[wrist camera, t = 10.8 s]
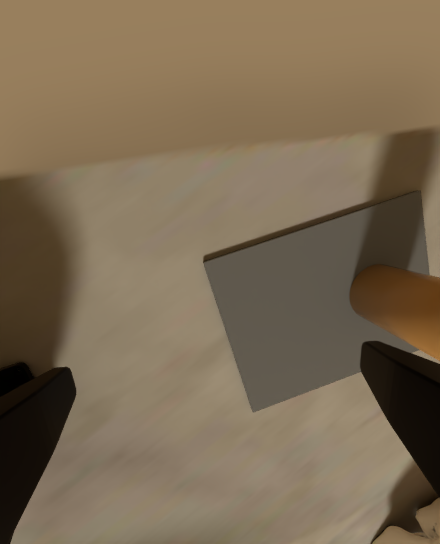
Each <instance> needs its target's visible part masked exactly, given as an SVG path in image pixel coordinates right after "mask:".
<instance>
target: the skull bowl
mask: <svg viewBox="0 0 440 544" xmlns="http://www.w3.org/2000/svg"><path fill="white" fill-rule="evenodd" d="M416 513H417V515H416V516H415V518H416V519H417V521H418V522H419V524H420V526H421V528H422V530H423V532H424V533H410V532H407V531H406V530H404V529H402V528H400V527H397V526H389V527H387V528H386V529H385V530H384V532H383V533H382V534H381V535H380V536H379V537H378V538H376V539H375V540H374V541H373V543H372V544H440V498H438V499H436V500H435V501H434V502H433V503H432V504H431V505H428V506H426V507H424V508H421V509H419V510H417V512H416ZM418 535H419V536H418ZM421 536H423V537H421Z"/></svg>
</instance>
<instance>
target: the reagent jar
mask: <svg viewBox="0 0 440 544" xmlns="http://www.w3.org/2000/svg"><path fill="white" fill-rule="evenodd" d="M349 298H350V304H351V307H352V309H353V310H354V312H355V313H356V314H357V315H359V316H360V317H362V318H364V319H366V320H368V321H369V322H371V323H373V324H375V325H376V326H378V327H380V328H382V329H384V330H385V331H387V332H389V333H391V334H392V335H394V336H396V337H398V338H400V339H401V340H403V341H405V342H407V343H408V344H410V345H412V346H414V347H416V348H417V349H419V350H421V351H423V352H425V353H426V354H428V355H430V356H432V357H433V358H435V359H437V360H439V361H440V278H439V277H435V276H430V275H426V274H422V273H418V272H414V271H410V270H406V269H402V268H397V267H393V266H389V265H385V264H375V265H372V266H369V267H367V268H365V269H364V270H363V271H361V272H360V273H359V274H358V275H357V277H356V278H355V279H354V281H353V283H352V286H351V289H350V295H349Z"/></svg>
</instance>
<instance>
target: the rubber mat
mask: <svg viewBox="0 0 440 544" xmlns="http://www.w3.org/2000/svg"><path fill="white" fill-rule="evenodd" d="M203 263H204V266H205V269H206V272H207V275H208V278H209V281H210V284H211V287H212V290H213V293H214V296H215V300H216V303H217V306H218V309H219V312H220V315H221V318H222V321H223V324H224V327H225V330H226V333H227V336H228V339H229V342H230V345H231V348H232V351H233V354H234V357H235V360H236V363H237V366H238V369H239V372H240V375H241V378H242V381H243V384H244V387H245V390H246V393H247V396H248V399H249V402H250V405H251V408H252V411H253V412H256V411H259V410H261V409H264V408H266V407H269V406H272V405H274V404H277V403H280V402H282V401H285V400H288V399H290V398H293V397H296V396H298V395H301V394H303V393H306V392H309V391H311V390H314V389H317V388H319V387H322V386H325V385H327V384H330V383H333V382H335V381H338V380H341V379H343V378H346V377H348V376H351V375H354V374H356V373H359V372H361V369H360V357H361V346H362V343H363V342H365V341H380V342H383V343H385V344H388V345H391V346H393V347H396V348H399V349H401V350H404V351H406V352H409V353H412V352H415V351H417V350H419V349H417V348H416V347H414V346H412V345H410V344H408V343H407V342H405V341H403V340H401V339H400V338H398V337H396V336H394V335H392V334H391V333H389V332H387V331H385V330H384V329H382V328H380V327H378V326H376V325H375V324H373V323H371V322H369V321H368V320H366V319H364V318H362V317H360V316H359V315H357V314H356V313H355V312H354V310H353V309H352V307H351V304H350V298H349V295H350V289H351V286H352V283H353V281H354V279H355V278H356V277H357V275H358V274H359V273H360V272H361V271H363V270H364V269H365V268H367V267H369V266H372V265H375V264H385V265H389V266H393V267H397V268H402V269H406V270H410V271H414V272H418V273H422V274H426V275H430V274H429V265H428V256H427V246H426V237H425V227H424V218H423V208H422V199H421V191H415V192H412V193H409V194H406V195H403V196H400V197H397V198H394V199H391V200H388V201H385V202H382V203H379V204H376V205H373V206H370V207H367V208H364V209H361V210H358V211H355V212H352V213H349V214H346V215H343V216H340V217H337V218H334V219H331V220H328V221H325V222H322V223H319V224H316V225H313V226H310V227H307V228H304V229H301V230H298V231H295V232H291V233H288V234H285V235H282V236H279V237H276V238H273V239H270V240H267V241H264V242H261V243H258V244H255V245H252V246H249V247H246V248H243V249H240V250H237V251H234V252H231V253H228V254H225V255H222V256H219V257H216V258H213V259H210V260H207V261H204V262H203Z"/></svg>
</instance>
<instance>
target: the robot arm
mask: <svg viewBox="0 0 440 544" xmlns="http://www.w3.org/2000/svg"><path fill="white" fill-rule="evenodd" d="M17 368H18V369H20V370H21V372H20V371H18V370H17ZM360 369H361V372H362V374H363V376H364V378H365V380H366V382H367V383H368V385H369V387H370V389H371V391H372V393H373V395H374V396H375V398H376V400H377V402H378V404H379V406H380V407H381V409H382V411H383V413H384V415H385V416H386V418H387V420H388V421H389V423H390V425H391V426H392V428H393V429H394V431H395V432H396V434H397V435H398V437H399V438H400V440H401V441H402V443H403V444H404V446H405V447H406V449H407V450H408V452H409V453H410V455H411V456H412V458H413V459H414V461H415V462H416V463H417V465H418V466H419V468H420V469H421V471H422V472H423V474H424V475H425V477H426V478H427V480H428V481H429V483H430V484H431V486H432V487H433V489H434V490H435V492H436V493H437V495H438V496H439V498H440V364H438V363H436V362H433V361H430V360H428V359H425V358H422V357H420V356H417V355H414V354H412V353H409V352H406V351H404V350H401V349H399V348H396V347H393V346H391V345H388V344H385V343H383V342H380V341H365V342H363V343H362V346H361V357H360ZM75 397H76V387H75V383H74V379H73V376H72V372H71V370H70V368H68V367H57V368H53V369H51V370H49V371H47V372H45V373H44V374H42V375H40V376H38V377H36V378H34V377H33V375H32V373H31V371H30V370H29V368H28V366H27V365H26V364H25V363H22V362H19V363H15V364H13V365H10V366H7V367H4V368H1V369H0V544H10V542H11V539H12V536H13V533H14V530H15V528H16V526H17V524H18V522H19V520H20V518H21V516H22V514H23V512H24V510H25V508H26V506H27V504H28V502H29V500H30V498H31V496H32V494H33V492H34V490H35V488H36V486H37V484H38V482H39V480H40V478H41V476H42V474H43V472H44V470H45V468H46V466H47V464H48V462H49V460H50V458H51V456H52V454H53V452H54V450H55V448H56V445H57V443H58V441H59V438H60V436H61V433H62V430H63V428H64V425H65V423H66V420H67V418H68V415H69V413H70V410H71V407H72V405H73V402H74V400H75Z"/></svg>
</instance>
